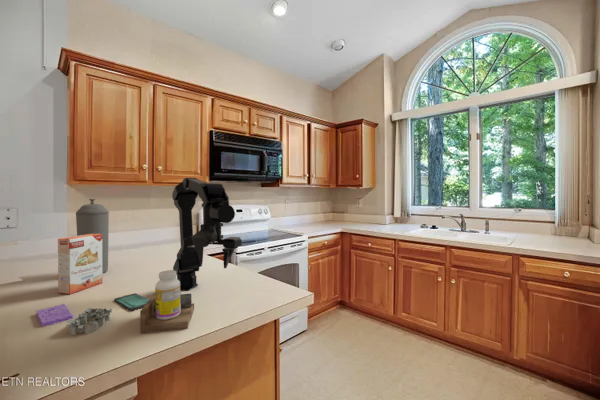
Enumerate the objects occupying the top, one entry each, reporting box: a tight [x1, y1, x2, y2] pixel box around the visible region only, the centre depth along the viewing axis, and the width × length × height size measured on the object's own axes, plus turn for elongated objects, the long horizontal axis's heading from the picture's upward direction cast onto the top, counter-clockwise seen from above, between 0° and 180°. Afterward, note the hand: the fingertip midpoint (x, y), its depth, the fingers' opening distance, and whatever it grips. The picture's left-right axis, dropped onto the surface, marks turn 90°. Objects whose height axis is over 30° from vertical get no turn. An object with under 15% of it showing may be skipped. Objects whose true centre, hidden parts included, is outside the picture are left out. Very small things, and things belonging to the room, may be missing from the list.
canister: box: [75, 198, 110, 274], centre depth 132 cm, size 13×13×35 cm
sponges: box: [35, 303, 74, 327], centre depth 86 cm, size 7×13×2 cm, turn 49°
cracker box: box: [57, 234, 103, 295], centre depth 111 cm, size 14×6×21 cm, turn 168°
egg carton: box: [66, 307, 113, 336], centre depth 81 cm, size 11×8×4 cm
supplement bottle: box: [154, 269, 181, 320], centre depth 82 cm, size 7×7×13 cm
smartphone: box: [113, 293, 150, 312], centre depth 97 cm, size 7×1×15 cm
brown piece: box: [139, 293, 195, 334], centre depth 84 cm, size 13×12×6 cm
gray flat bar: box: [180, 293, 193, 308], centre depth 88 cm, size 1×10×4 cm, turn 103°
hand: (212, 267), depth 94 cm, fingers open, 9 cm apart
